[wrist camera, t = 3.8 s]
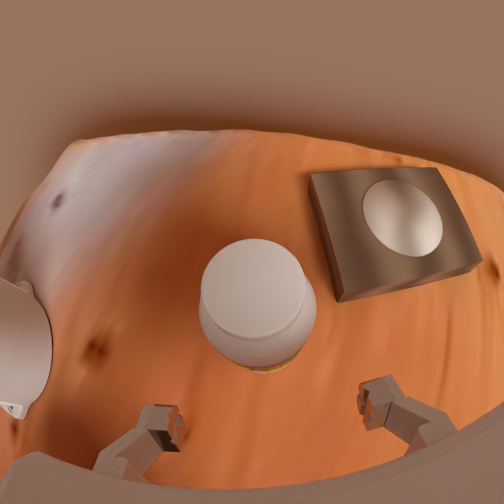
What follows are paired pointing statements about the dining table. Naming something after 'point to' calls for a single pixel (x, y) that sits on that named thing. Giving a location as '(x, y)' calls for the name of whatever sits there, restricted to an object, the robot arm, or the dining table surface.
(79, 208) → the dining table surface
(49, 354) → the robot arm
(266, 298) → the supplement bottle
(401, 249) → the walnut board
